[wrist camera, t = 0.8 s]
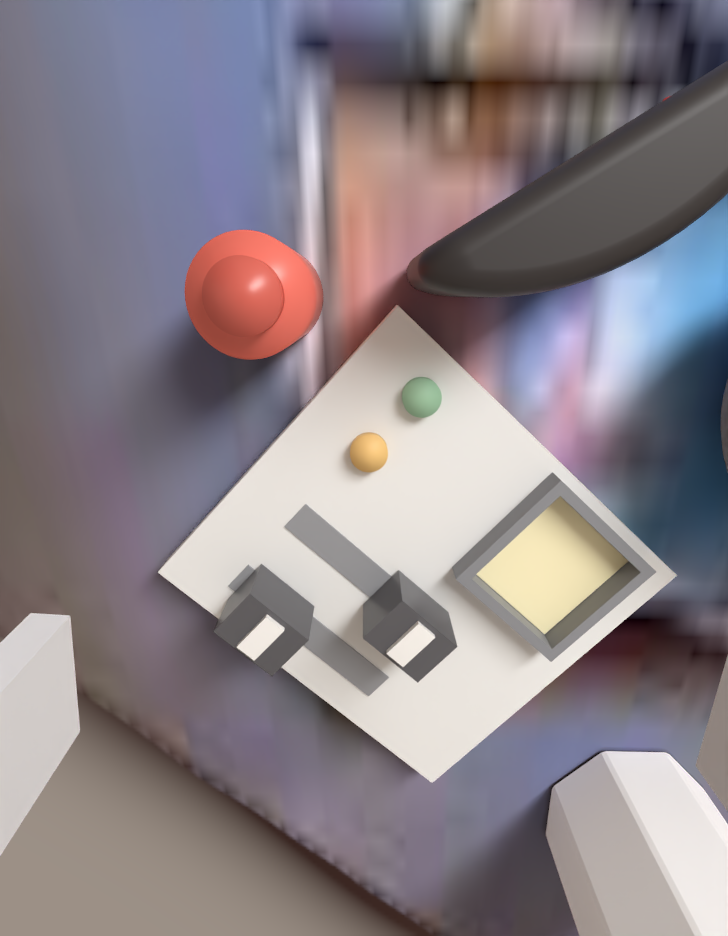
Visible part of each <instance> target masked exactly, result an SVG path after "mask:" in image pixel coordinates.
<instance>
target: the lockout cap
mask: <svg viewBox="0 0 728 936" xmlns="http://www.w3.org/2000/svg"><path fill="white" fill-rule="evenodd" d="M185 301H186V306H187V310H188V313H189V316H190V318H191V320H192V323H193V325H194V326H195V328H196V329H197V331H198V332H199V334H200V335H201V336H202V337H203V338H204V339H205V340H206V341H207V342H208V343H209V344H210V345H211V346H213V347H214V348H215V349H217V350H218V351H220V352H222V353H224V354H226V355H229V356H232V357H235V358H239V359H248V360H254V359H262V358H266V357H270V356H272V355H275V354H277V353H278V352H280V351H282V350H284V349H285V348H287V347H288V346H290V345H291V344H293V343H294V342H296V341H297V340H299V339H300V338H302V337H303V336H305V335H306V334H307V333H308V332H309V331H310V330H311V329H312V328H313V327H314V325H315V324H316V322H317V321H318V319H319V316H320V314H321V310H322V306H323V289H322V284H321V281H320V278H319V276H318V274H317V272H316V270H315V269H314V267H313V266H312V265H311V263H310V262H309V261H308V260H307V259H306V258H304V257H303V256H302V255H300V254H299V253H297V252H296V251H294V250H292V249H291V248H289V247H288V246H286V245H284V244H283V243H281V242H280V241H278V240H277V239H275V238H273V237H271V236H269V235H267V234H264V233H261V232H258V231H252V230H236V231H230V232H226V233H223V234H221V235H219V236H217V237H215V238H213V239H212V240H210V241H209V242H208V243H206V244H205V245H204V246H203V247H202V248H201V249H200V250H199V251H198V253H197V254H196V256H195V257H194V259H193V260H192V263H191V265H190V267H189V270H188V273H187V277H186V282H185Z"/></svg>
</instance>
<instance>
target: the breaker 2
mask: <svg viewBox="0 0 728 936" xmlns="http://www.w3.org/2000/svg"><path fill="white" fill-rule="evenodd" d="M363 639H364V640H365V641H367V642H368V643H369V644H370V645H372V646H373V647H374V648H375V649H377V650H378V651H379V652H380V653H382V654H383V655H384V656H385V657H386V658H388V659H389V660H390V661H391V662H393V663H394V664H395V665H396V666H398V667H399V668H400V669H401V670H403V671H404V672H405V673H406V674H408V675H409V676H410V677H411V678H413V679H414V680H415V681H416V682H417V683H418V682H419V681H420V680H421V679H422V678H424V677H425V676H426V675H427V674H428V673H429V672H430V671H431V670H432V669H434V668H435V667H436V666H437V665H438V664H439V663H440V662H441V661H442V660H443V659H445V658H446V657H447V656H448V655H449V654H450V653H451V652H452V651H453V650H455V649H456V648H457V643H456V639H455V635H454V631H453V628H452V624H451V620H450V616H449V612H448V611H446V610H445V609H444V608H443V607H442V606H441V605H439V604H438V603H437V602H436V601H435V600H434V599H432V598H431V597H430V596H429V595H428V594H426V593H425V592H424V591H423V590H422V589H421V588H419V587H418V586H417V585H416V584H415V583H414V582H412V581H411V580H410V579H409V578H408V577H406V576H405V575H404V574H403V573H402V572H401V571H399V570H398V571H397V572H396V573H395V574H394V575H393V576H392V577H391V578H390V579H389V580H388V581H387V582H386V583H385V584H384V585H383V586H382V587H381V588H379V589H378V590H377V591H376V592H375V593H374V594H373V595H372V596H371V597H370V598H369V599H368V600H367V601H366V602H365V603H364V604H363Z"/></svg>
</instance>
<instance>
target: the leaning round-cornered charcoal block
mask: <svg viewBox="0 0 728 936" xmlns="http://www.w3.org/2000/svg"><path fill="white" fill-rule="evenodd" d="M727 194H728V61H726V62H725V63H723V64H721V65H720V66H718V67H717V68H715V69H713V70H712V71H710V72H709V73H707V74H705V75H704V76H702V77H701V78H699V79H697V80H696V81H694V82H693V83H691V84H689V85H688V86H686V87H685V88H683V89H681V90H680V91H678V92H677V93H675V94H673V95H672V96H669V97H667V98H665V99H664V100H663V101H662V102H660V103H659V104H657V105H656V106H654V107H652V108H651V109H649V110H648V111H646V112H644V113H643V114H641V115H640V116H638V117H636V118H635V119H633V120H632V121H630V122H628V123H627V124H625V125H624V126H622V127H620V128H619V129H617V130H616V131H614V132H612V133H611V134H609V135H607V136H606V137H604V138H603V139H601V140H599V141H598V142H596V143H595V144H593V145H591V146H590V147H588V148H587V149H585V150H583V151H582V152H580V153H579V154H577V155H575V156H574V157H572V158H571V159H569V160H567V161H566V162H564V163H563V164H561V165H559V166H558V167H556V168H555V169H553V170H551V171H550V172H548V173H546V174H545V175H543V176H542V177H540V178H538V179H537V180H535V181H534V182H532V183H530V184H529V185H527V186H526V187H524V188H522V189H521V190H519V191H518V192H516V193H514V194H513V195H511V196H510V197H508V198H506V199H505V200H503V201H502V202H500V203H498V204H497V205H495V206H493V207H492V208H490V209H489V210H487V211H485V212H484V213H482V214H481V215H479V216H477V217H476V218H474V219H473V220H471V221H469V222H468V223H466V224H465V225H463V226H461V227H460V228H458V229H457V230H455V231H453V232H452V233H450V234H449V235H447V236H445V237H444V238H442V239H441V240H439V241H437V242H436V243H434V244H433V245H431V246H430V247H428V248H427V249H425V250H424V251H423V252H421V253H420V254H419V255H418V256H416V257H415V258H414V259H413V260H412V261H411V262H410V263H409V265H408V268H407V279H408V281H409V283H410V284H411V286H412V287H414V288H415V289H417V290H420V291H423V292H426V293H430V294H435V295H441V296H451V297H510V296H521V295H528V294H535V293H541V292H546V291H551V290H555V289H559V288H563V287H566V286H570V285H574V284H577V283H580V282H583V281H586V280H589V279H592V278H594V277H597V276H599V275H602V274H605V273H607V272H609V271H612V270H614V269H616V268H618V267H621V266H623V265H625V264H627V263H629V262H631V261H633V260H635V259H637V258H639V257H640V256H642V255H644V254H646V253H648V252H649V251H651V250H653V249H654V248H656V247H658V246H659V245H661V244H663V243H664V242H666V241H667V240H669V239H670V238H672V237H673V236H675V235H676V234H678V233H679V232H681V231H682V230H684V229H685V228H686V227H688V226H689V225H690V224H692V223H693V222H694V221H696V220H697V219H698V218H700V217H701V216H702V215H704V214H705V213H706V212H707V211H708V210H709V209H711V208H712V207H713V206H714V205H715V204H717V203H718V202H719V201H720V200H721V199H722V198H723V197H724V196H726V195H727Z"/></svg>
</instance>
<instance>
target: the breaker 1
mask: <svg viewBox="0 0 728 936" xmlns="http://www.w3.org/2000/svg"><path fill="white" fill-rule="evenodd" d="M313 612H314V606H313V605H312V604H311V603H310V602H308V601H307V600H306V599H305V598H304V597H302V596H301V595H300V594H299V593H297V592H296V591H295V590H294V589H292V588H291V587H290V586H289V585H287V584H286V583H285V582H284V581H282V580H281V579H280V578H279V577H277V576H276V575H275V574H274V573H272V572H271V571H270V570H269V569H267V568H266V567H265V566H264V565H262V564H261V565H260V566H259V567H258V568H257V569H256V570H255V571H254V572H253V573H252V574H251V575H250V576H249V577H248V578H247V579H246V580H245V581H244V582H243V583H242V585H241V586H240V587H239V588H238V589H237V590H236V591H235V592H234V593H233V594H232V595H231V596H230V597H229V598H228V600H227V602H226V605H225V607H224V609H223V611H222V613H221V616H220V618H219V620H218V622H217V624H216V627H215V629H214V631H213V632H214V633H215V634H217V635H218V636H219V637H221V638H222V639H223V640H225V641H226V642H227V643H229V644H230V645H231V646H232V647H234V648H235V649H236V650H238V651H239V652H240V653H242V654H243V655H244V656H246V657H247V658H248V659H250V660H251V661H252V662H254V663H255V664H256V665H257V666H259V667H260V668H261V669H263V670H264V671H265V672H267V673H268V674H269V675H271V676H273V675H274V674H275V673H276V672H277V671H278V670H279V669H280V668H281V667H282V666H283V665H284V664H285V663H286V662H287V661H288V660H289V659H290V658H291V657H292V656H293V655H294V654H295V653H296V652H297V651H298V650H299V649H300V648H301V647H302V646H303V645H304V644H306V643H307V642H308V641H309V636H310V630H311V624H312V618H313Z"/></svg>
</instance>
